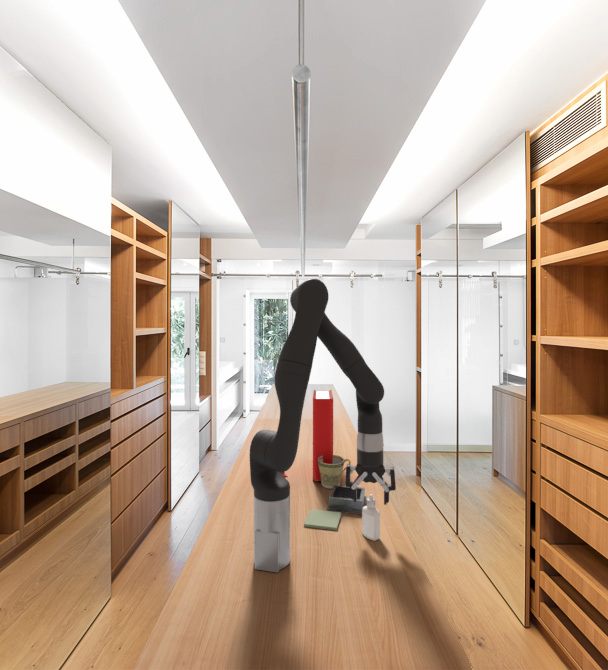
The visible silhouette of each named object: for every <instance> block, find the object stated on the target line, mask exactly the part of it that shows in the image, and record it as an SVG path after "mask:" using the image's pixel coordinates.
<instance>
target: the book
mask: <svg viewBox="0 0 608 670" xmlns="http://www.w3.org/2000/svg"><path fill="white" fill-rule="evenodd" d="M333 455H334V396H333V391H332V389H330V390H328V391H326V390H325V391H324V390H322V391H319V390H318V391H317V390H316V389H313V395H312V480H313V481H315V482H321V476H320V470H319V465H318V458H319V457H320V456H323V463H326V464H332V462H333Z"/></svg>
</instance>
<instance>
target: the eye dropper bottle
mask: <svg viewBox="0 0 608 670" xmlns="http://www.w3.org/2000/svg"><path fill="white" fill-rule="evenodd" d="M373 496H374V495H373V494H369V497H368V498H366V505H365V506H364V507H363V508H362V514H361V533H362V535H363V536H364V537H365V538H366V539H369V540H370V541H374V542H375V541H378V540H380V538H381V519H380V518H381V513H380V511H379V510H378V509H377V507H376V499H375V498H374V497H373Z"/></svg>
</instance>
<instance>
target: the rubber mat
mask: <svg viewBox="0 0 608 670" xmlns="http://www.w3.org/2000/svg"><path fill="white" fill-rule="evenodd" d="M341 518H342V512H337V511H327V510H322V509H312V508H311V509H310V510H309V512H308V514H307V517H306V519H305V521H304V523H303V527H304V528H305V527H306V528H312V529H322V530H329V531H337V530H338V527H339V525H340V521H341Z"/></svg>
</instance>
